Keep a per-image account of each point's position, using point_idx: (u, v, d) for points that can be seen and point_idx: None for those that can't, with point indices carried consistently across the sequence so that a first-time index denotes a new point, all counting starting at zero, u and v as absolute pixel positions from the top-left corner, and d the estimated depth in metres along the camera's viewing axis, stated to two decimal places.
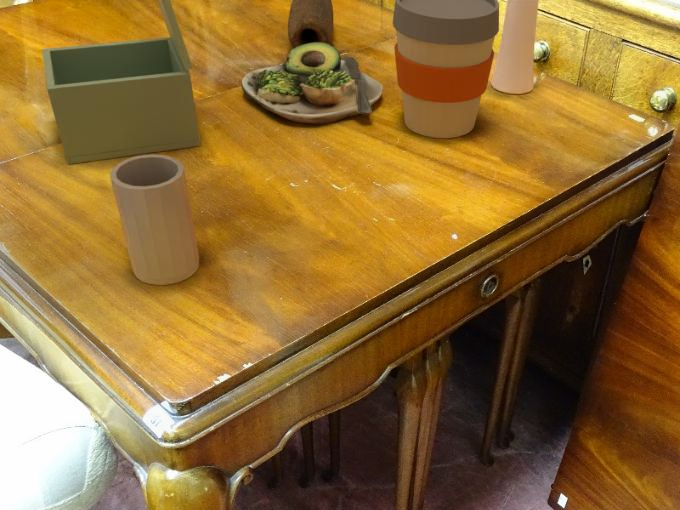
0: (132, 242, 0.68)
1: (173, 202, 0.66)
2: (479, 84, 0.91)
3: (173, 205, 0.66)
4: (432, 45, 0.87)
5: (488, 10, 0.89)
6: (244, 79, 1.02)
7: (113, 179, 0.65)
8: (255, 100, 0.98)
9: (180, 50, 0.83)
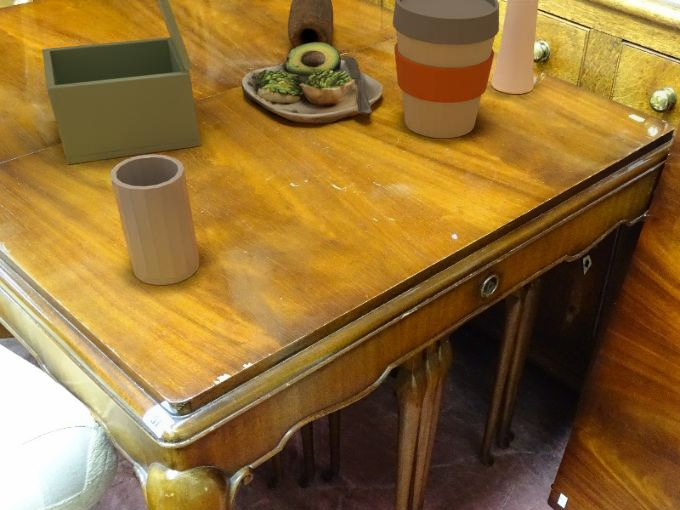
0: (132, 242, 0.68)
1: (173, 202, 0.66)
2: (479, 84, 0.91)
3: (173, 205, 0.66)
4: (432, 45, 0.87)
5: (488, 10, 0.89)
6: (244, 79, 1.02)
7: (113, 179, 0.65)
8: (255, 100, 0.98)
9: (180, 50, 0.83)
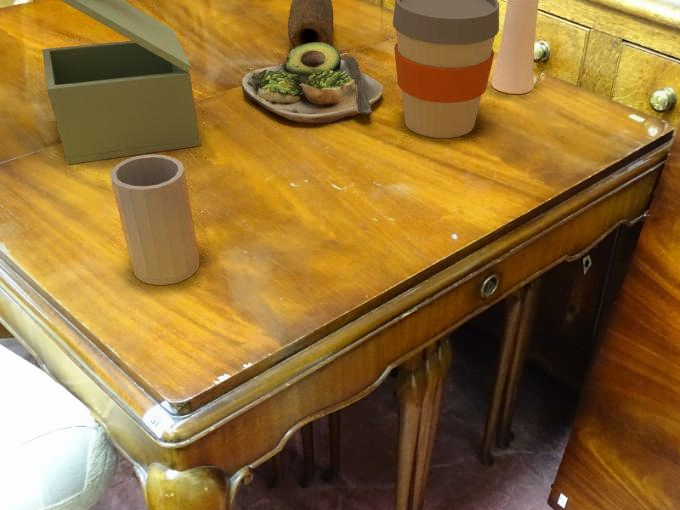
0: (132, 242, 0.68)
1: (173, 202, 0.66)
2: (479, 84, 0.91)
3: (173, 205, 0.66)
4: (432, 45, 0.87)
5: (488, 10, 0.89)
6: (244, 79, 1.02)
7: (113, 179, 0.65)
8: (255, 100, 0.98)
9: (169, 60, 0.83)
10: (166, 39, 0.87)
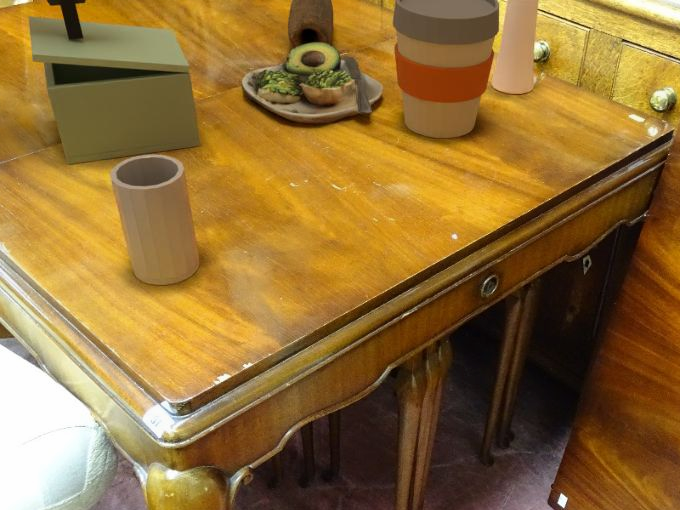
0: (132, 242, 0.68)
1: (173, 202, 0.66)
2: (479, 84, 0.91)
3: (173, 205, 0.66)
4: (432, 45, 0.87)
5: (488, 10, 0.89)
6: (244, 79, 1.02)
7: (113, 179, 0.65)
8: (255, 100, 0.98)
9: (168, 69, 0.84)
10: (162, 47, 0.87)
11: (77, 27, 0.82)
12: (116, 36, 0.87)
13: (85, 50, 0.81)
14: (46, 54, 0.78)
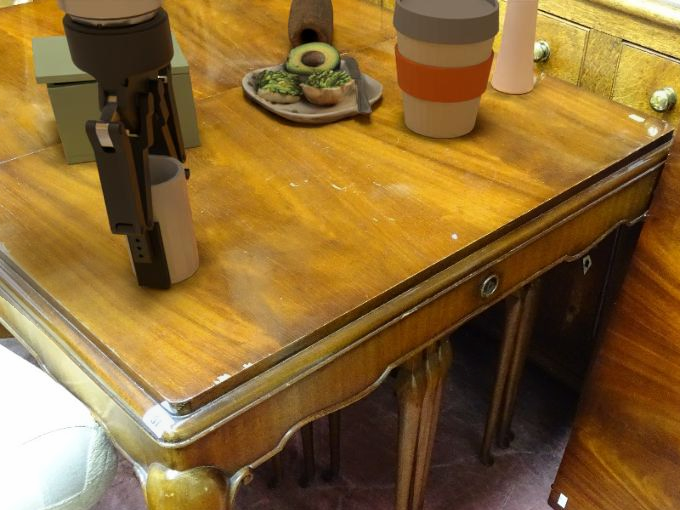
0: None
1: (173, 202, 0.66)
2: (479, 84, 0.91)
3: (173, 205, 0.66)
4: (432, 45, 0.87)
5: (488, 10, 0.89)
6: (244, 79, 1.02)
7: None
8: (255, 100, 0.98)
9: None
10: None
11: None
12: None
13: None
14: (49, 75, 0.80)
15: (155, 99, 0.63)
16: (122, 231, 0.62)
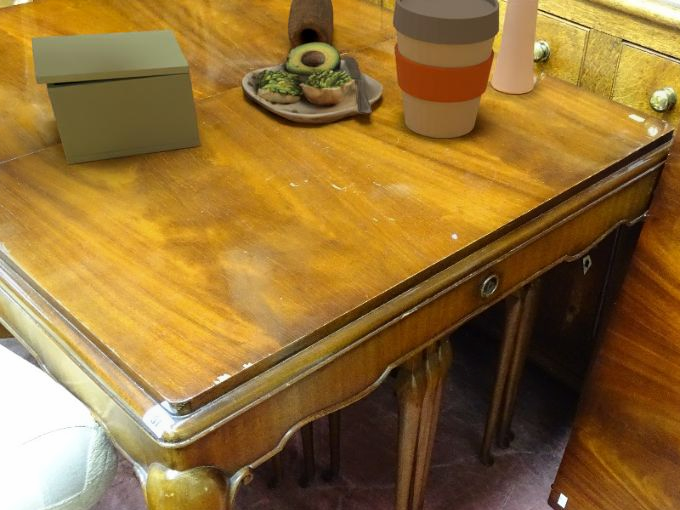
0: None
1: None
2: (479, 84, 0.91)
3: None
4: (432, 45, 0.87)
5: (488, 10, 0.89)
6: (244, 79, 1.02)
7: None
8: (255, 100, 0.98)
9: (168, 73, 0.84)
10: (162, 49, 0.87)
11: None
12: (116, 45, 0.87)
13: (86, 65, 0.82)
14: (49, 75, 0.80)
15: None
16: None
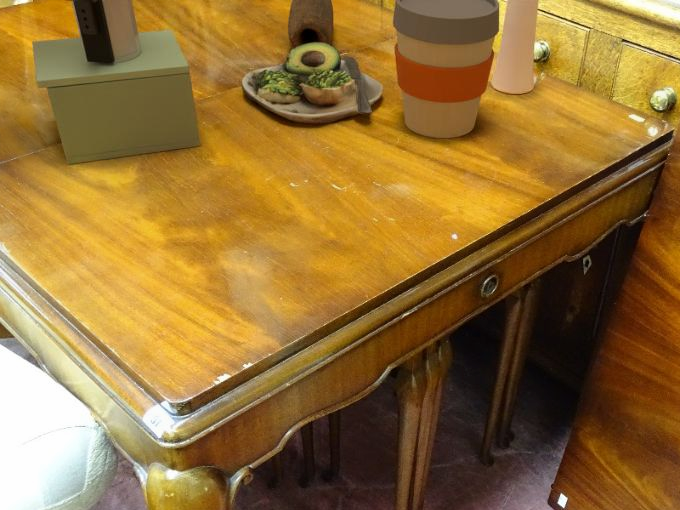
0: None
1: None
2: (479, 84, 0.91)
3: None
4: (432, 45, 0.87)
5: (488, 10, 0.89)
6: (244, 79, 1.01)
7: None
8: (255, 100, 0.98)
9: (168, 73, 0.84)
10: (162, 50, 0.87)
11: None
12: None
13: (87, 67, 0.83)
14: (49, 79, 0.80)
15: None
16: None
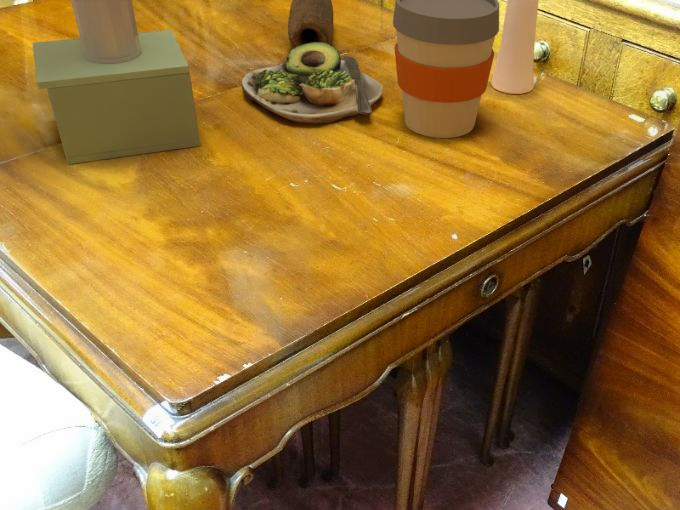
0: (81, 21, 0.81)
1: None
2: (479, 84, 0.91)
3: None
4: (432, 45, 0.87)
5: (488, 10, 0.89)
6: (244, 79, 1.02)
7: None
8: (255, 100, 0.98)
9: (168, 73, 0.84)
10: (162, 50, 0.87)
11: None
12: None
13: (87, 68, 0.83)
14: (50, 80, 0.80)
15: None
16: None
